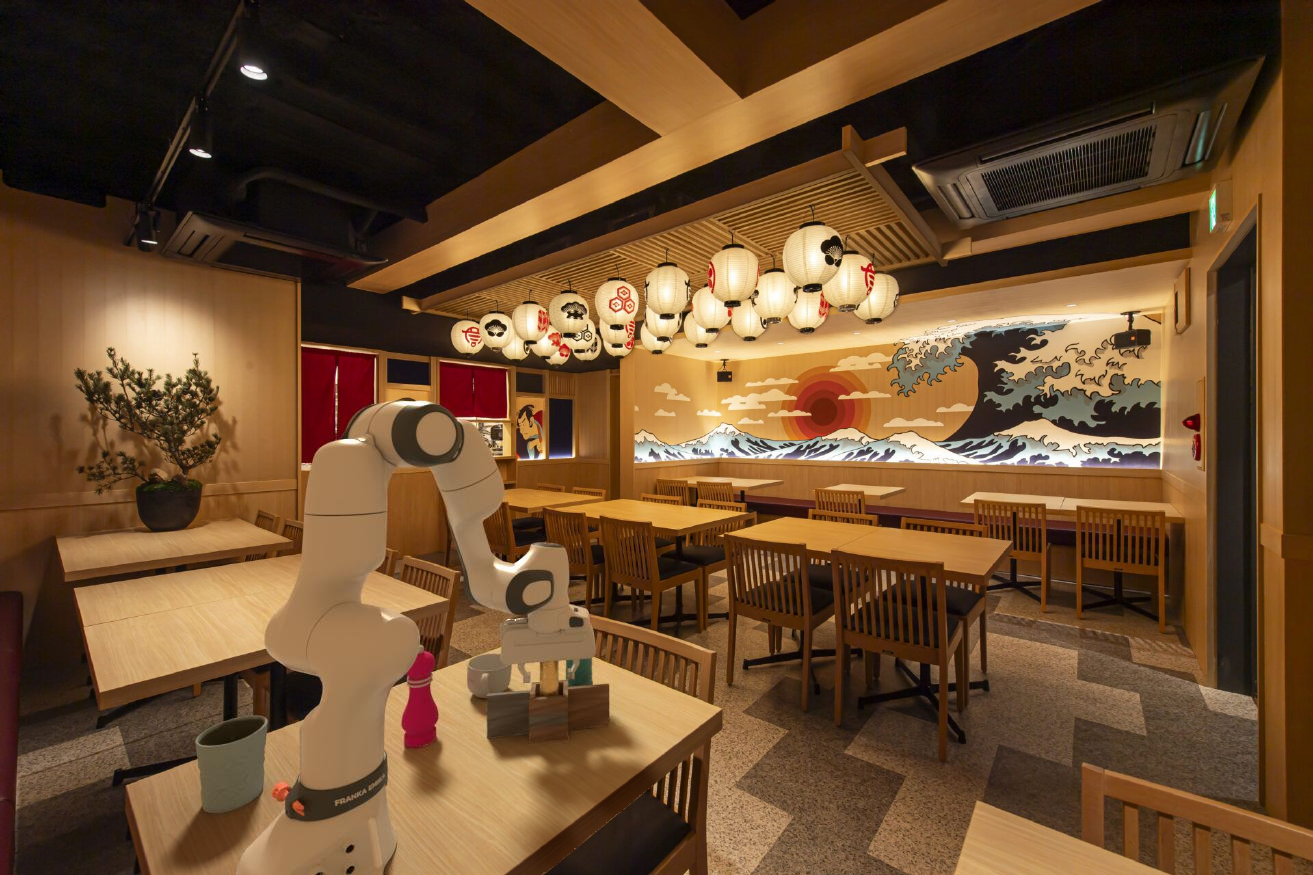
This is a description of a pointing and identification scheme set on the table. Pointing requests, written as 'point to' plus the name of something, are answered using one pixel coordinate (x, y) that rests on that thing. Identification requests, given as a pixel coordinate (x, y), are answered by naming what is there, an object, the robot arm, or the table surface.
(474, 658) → the teacup
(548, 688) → the brass pin
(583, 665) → the beverage bottle
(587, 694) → the brown winged open box
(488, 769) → the table surface
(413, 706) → the pepper mill
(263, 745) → the green oval vase
